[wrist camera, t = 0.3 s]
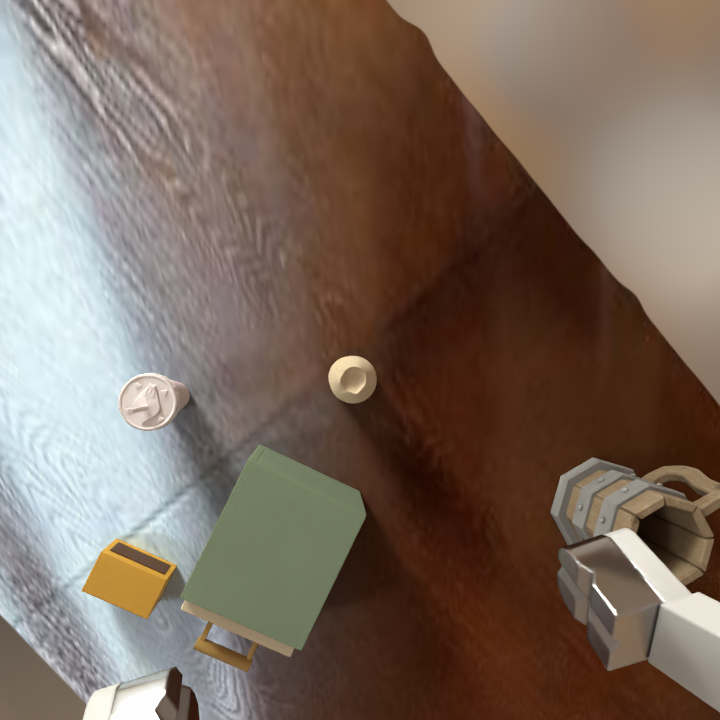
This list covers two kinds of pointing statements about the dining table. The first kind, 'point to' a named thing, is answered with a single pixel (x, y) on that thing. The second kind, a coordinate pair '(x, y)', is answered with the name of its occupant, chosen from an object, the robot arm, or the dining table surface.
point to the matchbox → (129, 578)
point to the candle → (352, 379)
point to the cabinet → (277, 547)
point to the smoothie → (151, 401)
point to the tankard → (640, 511)
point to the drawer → (223, 652)
